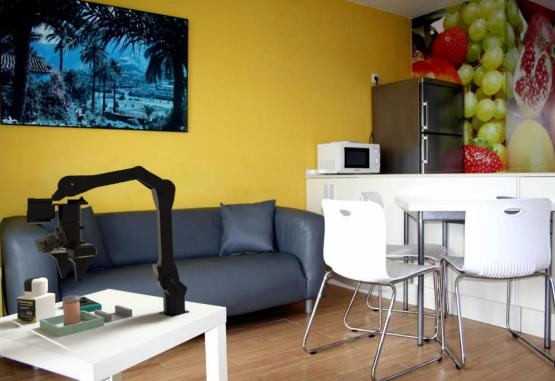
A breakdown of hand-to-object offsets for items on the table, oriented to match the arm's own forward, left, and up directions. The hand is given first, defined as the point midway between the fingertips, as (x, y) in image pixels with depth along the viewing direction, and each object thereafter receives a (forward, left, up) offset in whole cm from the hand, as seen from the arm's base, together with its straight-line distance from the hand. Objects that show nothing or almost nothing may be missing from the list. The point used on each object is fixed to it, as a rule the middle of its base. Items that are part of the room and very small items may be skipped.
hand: (70, 280), depth 128 cm
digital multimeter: (+18, -11, -14) cm, 25 cm away
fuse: (0, 0, -13) cm, 13 cm away
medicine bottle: (+16, +3, -13) cm, 21 cm away
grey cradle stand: (0, -12, -13) cm, 18 cm away
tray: (0, 0, -13) cm, 13 cm away
